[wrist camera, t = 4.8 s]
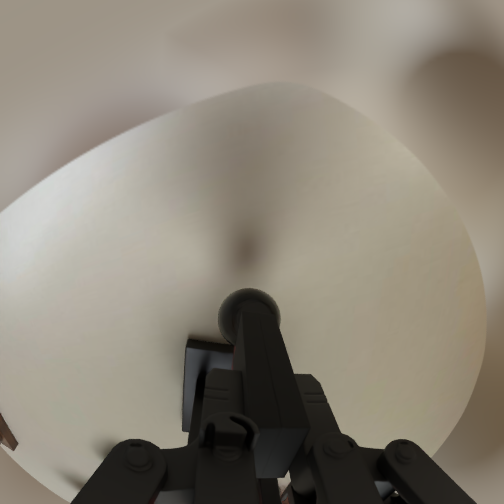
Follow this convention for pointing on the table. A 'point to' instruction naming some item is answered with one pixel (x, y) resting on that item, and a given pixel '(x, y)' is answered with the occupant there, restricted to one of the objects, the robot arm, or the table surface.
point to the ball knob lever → (243, 302)
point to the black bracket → (195, 371)
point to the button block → (6, 435)
